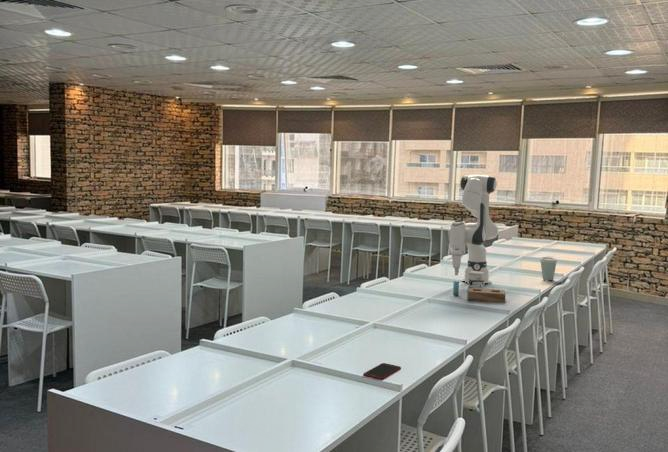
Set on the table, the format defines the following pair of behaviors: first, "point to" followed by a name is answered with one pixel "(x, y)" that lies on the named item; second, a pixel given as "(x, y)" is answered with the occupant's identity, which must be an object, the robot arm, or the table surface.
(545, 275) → the disposable coffee cup
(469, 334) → the table surface
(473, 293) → the block
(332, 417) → the table surface
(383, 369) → the cell phone
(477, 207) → the robot arm
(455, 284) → the pin
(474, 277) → the ink box
